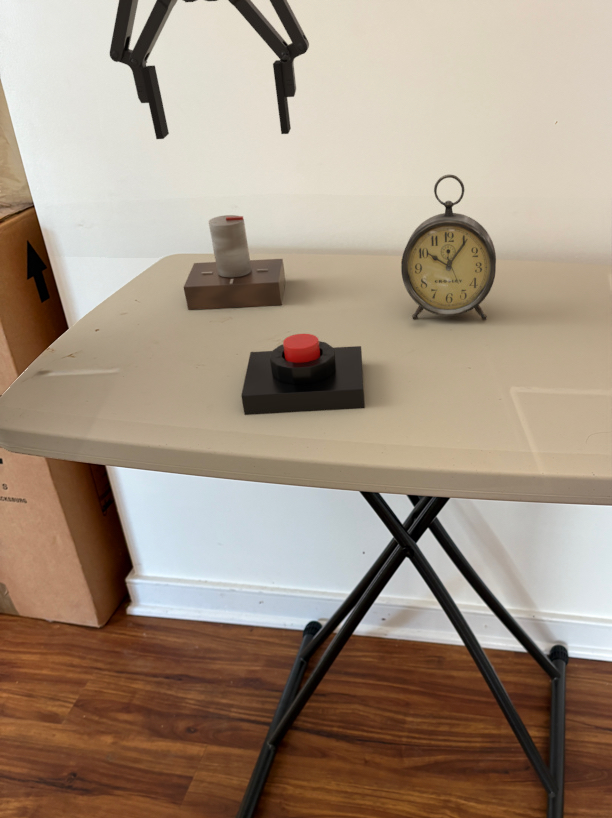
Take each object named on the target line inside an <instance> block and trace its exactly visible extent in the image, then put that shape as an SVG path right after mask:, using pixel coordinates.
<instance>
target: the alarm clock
mask: <svg viewBox="0 0 612 818" xmlns="http://www.w3.org/2000/svg"><path fill="white" fill-rule="evenodd" d="M445 179H453V180H455V181H457V182H458V184H459V185H460V187H461V194H460V196H459V198H458V199H457V200H456V201H455V202H453V201H451V200H446V201H445V202H444V201H442V200H441V199H440V198H439V195H438V192H437V191H438V186H439V184H440V183H441V182H442V181H443V180H445ZM433 193H434V197H435V199H436V200H437V201H438V203H439V204H441V205H442V206H443V207H444V208H445V209H444V213H439V214H435V215H432V216H431V217H429V218H427V219H425V220H424V221H423V222H421V223H420V224H419V225H418V226H417V227H416V228H415V229H414V231H413V232H412V234H411V235H410V237H409V239H408V241H407V243H406V246H405V248H404V250H403V253H402V257H401V266H400V267H401V268H400V269H401V270H400V271H401V278H402V282H403V285H404V287H405V289H406V292H407V293H408V295H409V296H410V298H411V299H412V300H413V301H414V302H415V303H416V304H417V305H418V306H417V308H416V309H415V312H414V314H412V315H411V318H412V320H417V319H418V316H419V315H420V314H421V313H422V312H423V311H424V310H425V311H427V312H429V313H431V314H434V315H436V316H437V315H438V316H443V317H454V316H459V315H462V314H465V313H468V312H471V311H472V310H475V312H476V313H477V314H478V315H479V316H480V317H481V320H483V321H485V320H487V318H488V317H487V314H485V313H484V312H483V311H484V310H483V309H482V307H481V306H480V304H482V302H483V301H485V299H486V298H487V296H488V295H489V293H490V292H491V290H492V287H493V285H494V281H495V278H496V272H497V271H496V268H497V254H496V249H495V245H494V242H493V240H492V238H491V236H490V234H489V233H488V231H487V229H485V227H484V226H483V225H482V224H480V223H479V222H478V221H477V220H476V219H474V218H472V217H470V216H468V215H465V214H462V213H458V212H453V207H454V206H455V205H458V204H459V203H460V202H461V201H462V199H463V197H464V194H465V185H464V183H463V181H462V179H461V178H459V177H458V176H457V175H456V174H455V175H454V174H445V175H442V176H441V177H439V178H438V179H437V181H436V182H435V184H434V186H433Z"/></svg>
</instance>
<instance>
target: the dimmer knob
mask: <svg viewBox="0 0 612 818" xmlns="http://www.w3.org/2000/svg"><path fill="white" fill-rule="evenodd" d="M244 218H245V217H244V215H235V214H228V215H227V214H225V215H218V216H215V217H212V218H210V219H209V220H208V229H209V232H210V239H211V244H212V251H213V254H214V260H215V261H214V262H216V267H217V272H218V275H220V276H222V277H228V278H234V277H241V276H244V275H247V274H249V273H250V272H251V270H252V269H251V262H250V260H251V257H250V251H249V244H248V237H247V231H246V224H245V219H244Z"/></svg>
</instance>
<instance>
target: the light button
mask: <svg viewBox="0 0 612 818" xmlns="http://www.w3.org/2000/svg"><path fill="white" fill-rule="evenodd" d="M319 341H320V340H319V337H317V335H314V334H311V333H297V334H292V335H289V336H287V337H285V338H284V340H283V341H282V344H283V347H284V354H285V359H286V361H290V362H295V363H300V362H309V361H313V360H316V359H318V358H319V357H320V347H319Z"/></svg>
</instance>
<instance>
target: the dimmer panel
mask: <svg viewBox="0 0 612 818" xmlns="http://www.w3.org/2000/svg"><path fill="white" fill-rule="evenodd" d="M250 262H251V269H252V270H251V272H250V273H249V274H247V275H244V276H241V277H234V278H228V277H222V276H220V275H218V272H217V267H216V261H209V262H193V264H192V267H191V269H190V271H189V274H188V276H187V279H186V280H185V283H184V284H183V291H184V295H185V296H184V297H185V301H186V306H187V310H188V311H193V310H211V309H229V308H230V309H231V308H234V309H235V308H251V307H268V306H282V304H283V298H284V292H285V286H286V273H285V266H284V259H283V258H270V259H269V258H268V259H250Z"/></svg>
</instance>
